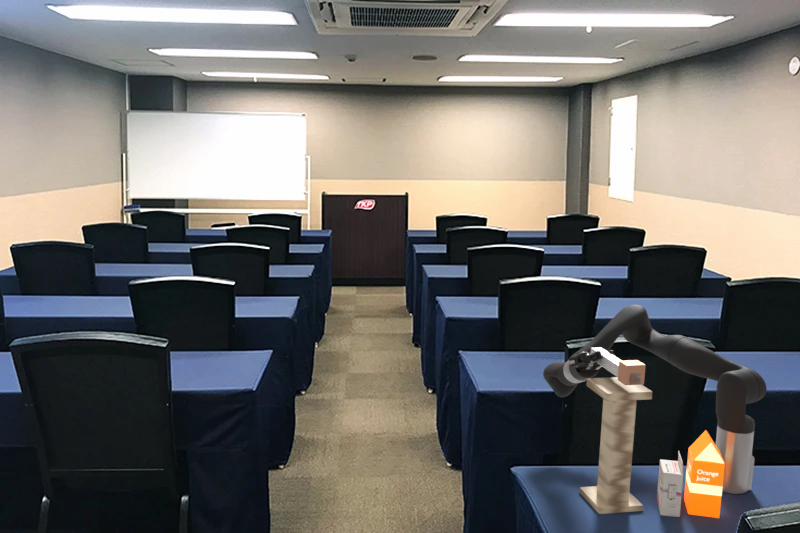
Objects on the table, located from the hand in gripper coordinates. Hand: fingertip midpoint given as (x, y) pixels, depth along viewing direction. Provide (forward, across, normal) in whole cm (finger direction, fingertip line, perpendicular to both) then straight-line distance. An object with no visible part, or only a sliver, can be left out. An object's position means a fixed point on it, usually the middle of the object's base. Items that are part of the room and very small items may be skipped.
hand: (606, 354), depth 201 cm
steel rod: (+3, 0, +5) cm, 6 cm away
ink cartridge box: (-7, +13, +40) cm, 43 cm away
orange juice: (-6, +22, +40) cm, 46 cm away
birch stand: (-12, 0, +37) cm, 39 cm away
